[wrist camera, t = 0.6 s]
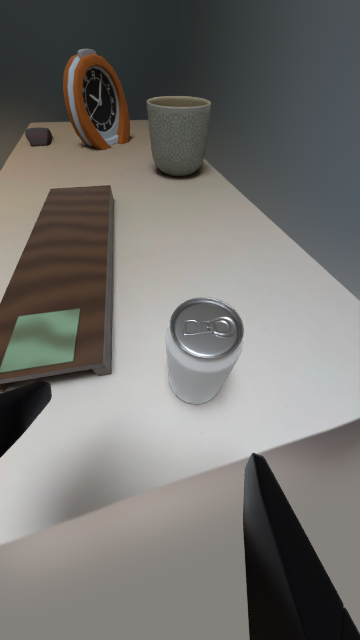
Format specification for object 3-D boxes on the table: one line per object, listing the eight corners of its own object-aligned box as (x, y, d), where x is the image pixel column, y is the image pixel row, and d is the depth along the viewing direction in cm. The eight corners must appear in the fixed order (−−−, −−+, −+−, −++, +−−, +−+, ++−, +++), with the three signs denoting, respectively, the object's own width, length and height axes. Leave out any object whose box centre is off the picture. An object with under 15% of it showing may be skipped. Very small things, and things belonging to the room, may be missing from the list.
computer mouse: (28, 146, 76) (22, 132, 73) (33, 136, 84) (28, 123, 81) (51, 145, 78) (45, 131, 75) (54, 135, 85) (49, 122, 82)
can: (224, 404, 23) (259, 363, 13) (168, 406, 23) (163, 365, 13) (216, 353, 27) (239, 292, 17) (168, 355, 27) (164, 293, 17)
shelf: (111, 373, 25) (102, 362, 22) (-11, 394, 23) (-38, 384, 20) (113, 200, 52) (110, 184, 49) (57, 204, 50) (50, 187, 47)
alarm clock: (94, 152, 74) (67, 49, 55) (77, 147, 77) (46, 48, 58) (135, 139, 84) (124, 49, 66) (119, 135, 87) (104, 48, 69)
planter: (173, 158, 71) (172, 94, 59) (213, 169, 66) (222, 100, 53) (141, 172, 63) (132, 101, 51) (184, 185, 58) (187, 110, 45)
